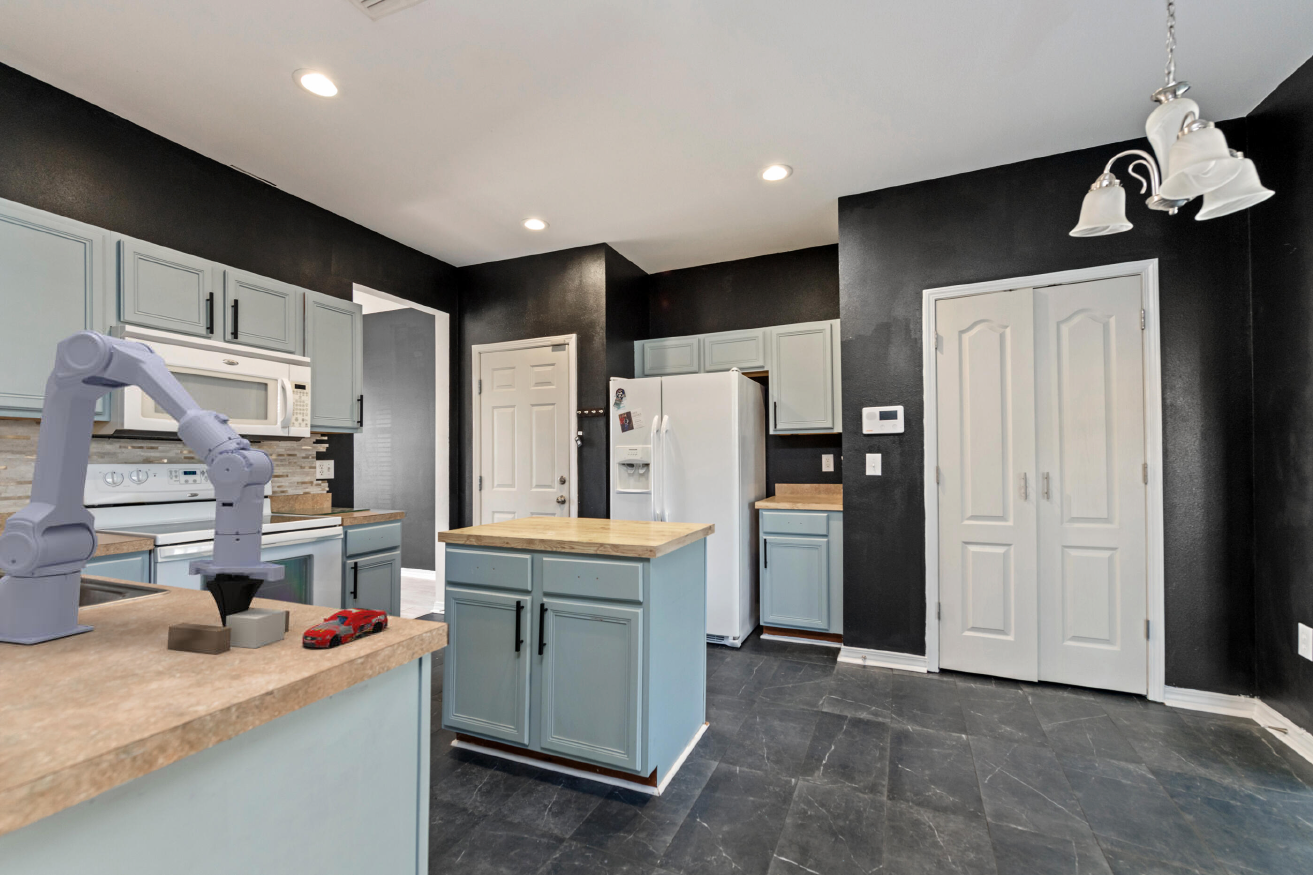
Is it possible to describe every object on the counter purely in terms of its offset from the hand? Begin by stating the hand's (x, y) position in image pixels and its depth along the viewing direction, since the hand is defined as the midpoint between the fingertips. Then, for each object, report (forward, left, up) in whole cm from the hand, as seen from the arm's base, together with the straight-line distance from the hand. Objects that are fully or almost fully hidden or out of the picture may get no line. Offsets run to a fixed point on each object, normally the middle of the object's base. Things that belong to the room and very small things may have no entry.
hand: (233, 627), depth 87 cm
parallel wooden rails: (0, 0, -2) cm, 2 cm away
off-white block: (+4, 0, -2) cm, 4 cm away
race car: (+14, +6, -2) cm, 15 cm away
